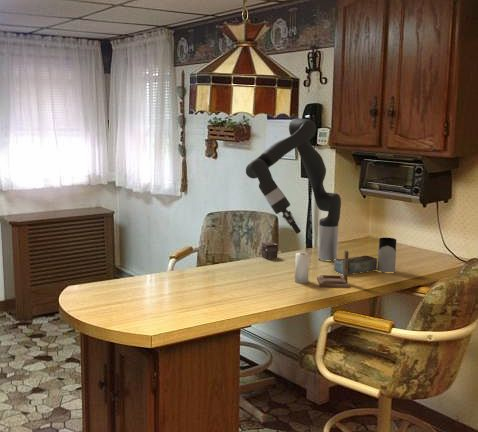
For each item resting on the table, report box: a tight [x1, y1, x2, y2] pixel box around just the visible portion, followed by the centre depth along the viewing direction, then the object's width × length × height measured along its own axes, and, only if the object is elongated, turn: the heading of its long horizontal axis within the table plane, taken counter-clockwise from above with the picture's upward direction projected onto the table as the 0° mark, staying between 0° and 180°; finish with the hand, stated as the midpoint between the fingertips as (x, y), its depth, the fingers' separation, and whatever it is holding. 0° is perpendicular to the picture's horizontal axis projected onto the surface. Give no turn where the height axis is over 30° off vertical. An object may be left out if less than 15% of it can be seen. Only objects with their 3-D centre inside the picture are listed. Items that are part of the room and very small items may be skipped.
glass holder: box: [377, 237, 397, 272], centre depth 270 cm, size 9×14×15 cm, turn 166°
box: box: [261, 241, 279, 260], centre depth 291 cm, size 6×6×7 cm
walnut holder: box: [316, 249, 350, 289], centre depth 246 cm, size 12×12×14 cm
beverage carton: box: [333, 255, 378, 276], centre depth 267 cm, size 8×19×7 cm, turn 116°
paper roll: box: [294, 252, 310, 284], centre depth 248 cm, size 6×6×12 cm
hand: (298, 232), depth 250 cm, fingers open, 8 cm apart
